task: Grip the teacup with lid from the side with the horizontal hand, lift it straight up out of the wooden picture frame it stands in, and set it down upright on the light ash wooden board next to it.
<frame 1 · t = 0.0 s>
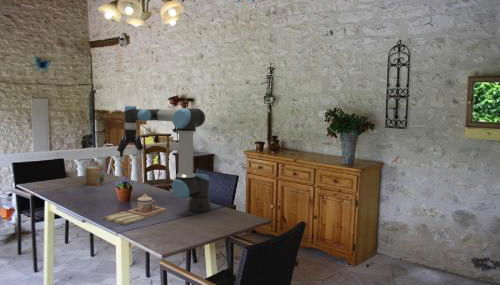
hand: (130, 160, 280), 28 cm above the table, tool pointing down, fingers open, 13 cm apart
ash board: (124, 219, 242), on the table
teacup with lid: (147, 213, 257), resting in wooden picture frame
milk carton: (95, 184, 333), on the table
wooden picture frame: (147, 212, 257), on the table
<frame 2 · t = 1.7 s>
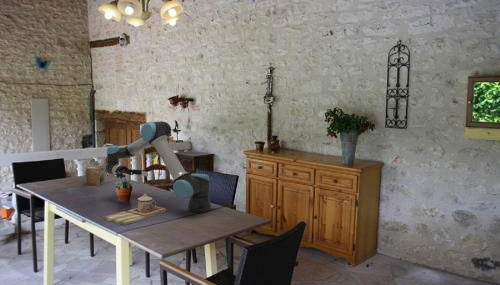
hand: (138, 175, 261), 22 cm above the table, tool horizontal, fingers open, 13 cm apart
nothing on the table moved.
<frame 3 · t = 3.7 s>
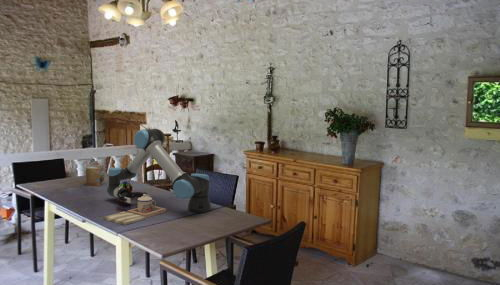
hand: (139, 199, 261), 7 cm above the table, tool horizontal, fingers open, 13 cm apart
nothing on the table moved.
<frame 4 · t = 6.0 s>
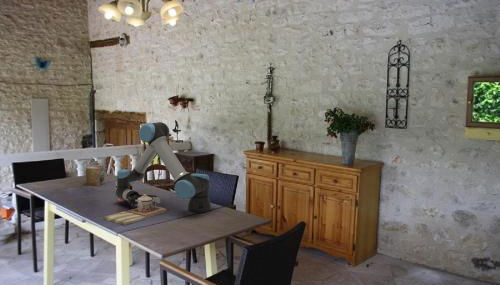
hand: (150, 202, 253), 7 cm above the table, tool horizontal, fingers closed on teacup with lid, 12 cm apart
teacup with lid: (147, 213, 257), resting in wooden picture frame, touching gripper
everything else where it was.
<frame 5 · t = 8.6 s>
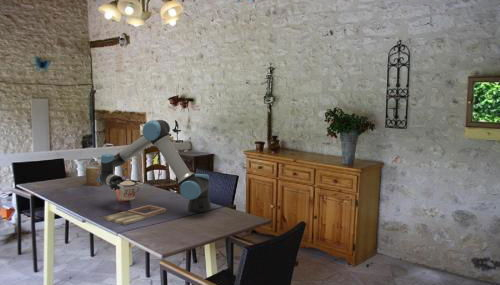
hand: (133, 187, 243), 18 cm above the table, tool horizontal, fingers closed on teacup with lid, 12 cm apart
teacup with lid: (129, 198, 246), point 11 cm above the table, touching gripper
everything else where it was.
when the fingers open (10 cm above the table, at t = 11.5 s): teacup with lid drops 1 cm, resting on ash board.
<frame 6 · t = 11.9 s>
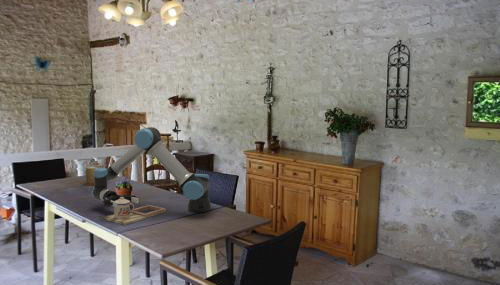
hand: (127, 203, 239), 10 cm above the table, tool horizontal, fingers open, 13 cm apart
teacup with lid: (124, 217, 242), point 1 cm above the table, touching ash board
everything else where it was.
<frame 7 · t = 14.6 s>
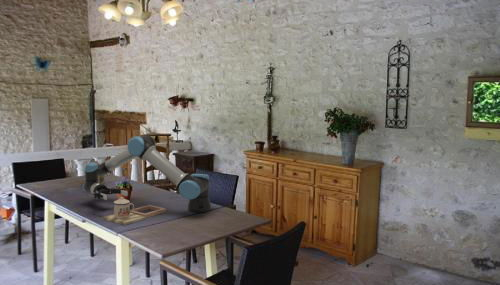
hand: (117, 195, 249), 12 cm above the table, tool horizontal, fingers open, 13 cm apart
nothing on the table moved.
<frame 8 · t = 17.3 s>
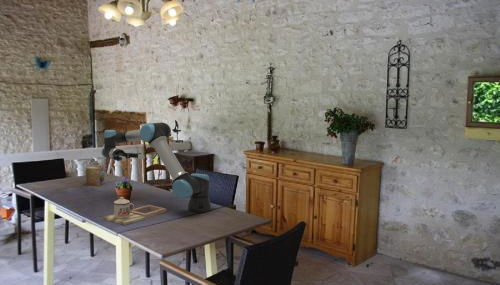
hand: (134, 158, 264), 32 cm above the table, tool horizontal, fingers open, 13 cm apart
nothing on the table moved.
at the end: teacup with lid inside the target area on the ash board (0.1 cm from its centre), point 1.3 cm above the ash board's base; teacup with lid tilted 0°; the gripper is holding nothing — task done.
